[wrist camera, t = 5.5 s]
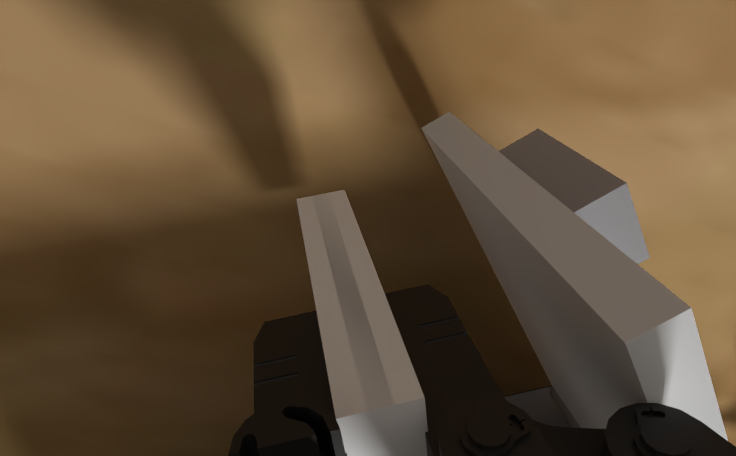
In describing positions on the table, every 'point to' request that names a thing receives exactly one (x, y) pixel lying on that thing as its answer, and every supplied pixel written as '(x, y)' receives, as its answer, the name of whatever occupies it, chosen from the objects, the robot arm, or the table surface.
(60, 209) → the table surface
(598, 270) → the side door
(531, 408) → the grey box
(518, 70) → the table surface
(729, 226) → the table surface
